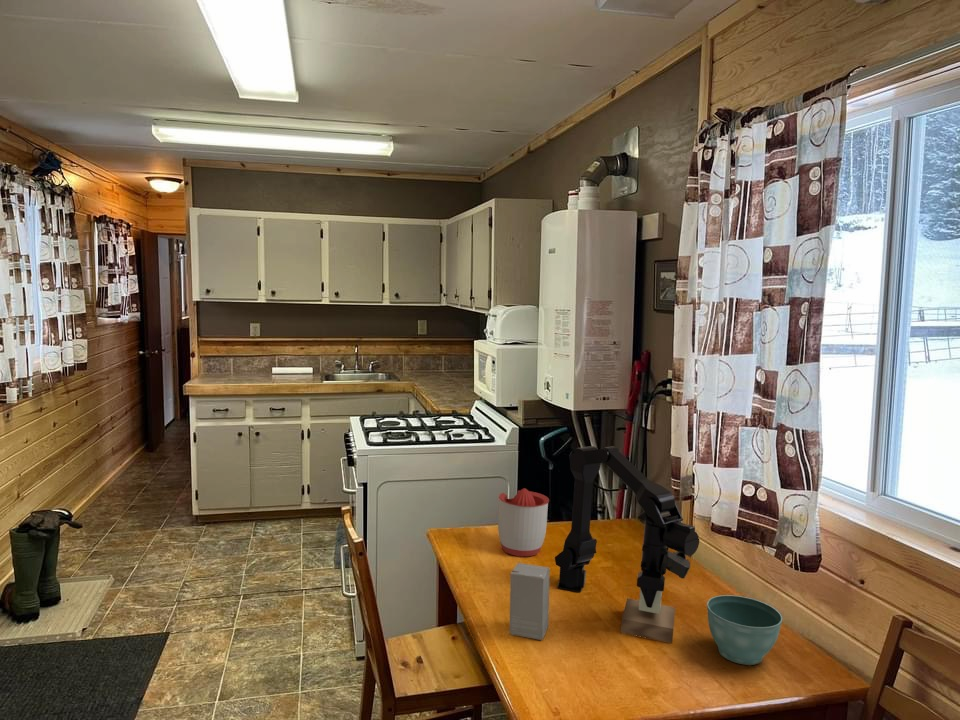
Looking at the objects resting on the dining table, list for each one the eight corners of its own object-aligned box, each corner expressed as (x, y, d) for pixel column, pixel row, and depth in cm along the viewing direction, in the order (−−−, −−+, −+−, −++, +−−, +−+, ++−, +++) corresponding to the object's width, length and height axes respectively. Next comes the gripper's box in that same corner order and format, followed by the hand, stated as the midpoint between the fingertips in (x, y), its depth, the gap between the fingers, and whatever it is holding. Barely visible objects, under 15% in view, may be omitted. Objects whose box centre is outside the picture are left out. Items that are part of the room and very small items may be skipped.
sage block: (638, 609, 167) (640, 586, 167) (640, 601, 172) (642, 578, 171) (659, 614, 166) (661, 590, 165) (660, 605, 170) (662, 582, 170)
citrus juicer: (522, 536, 226) (526, 477, 224) (555, 555, 212) (560, 492, 210) (483, 543, 218) (486, 482, 216) (514, 563, 204) (518, 498, 201)
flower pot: (688, 645, 161) (692, 601, 160) (735, 631, 169) (739, 589, 168) (744, 681, 147) (749, 633, 146) (793, 664, 155) (798, 619, 154)
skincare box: (548, 629, 165) (552, 566, 163) (541, 643, 158) (545, 577, 157) (514, 622, 168) (518, 559, 166) (506, 635, 161) (510, 570, 159)
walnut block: (620, 634, 165) (622, 618, 165) (625, 613, 177) (627, 598, 176) (672, 645, 162) (673, 629, 161) (674, 622, 173) (675, 607, 173)
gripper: (689, 561, 156) (683, 626, 157) (690, 534, 174) (684, 593, 175) (639, 552, 159) (633, 616, 161) (645, 527, 177) (640, 585, 178)
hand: (650, 602), depth 169 cm, fingers closed on sage block, 5 cm apart
